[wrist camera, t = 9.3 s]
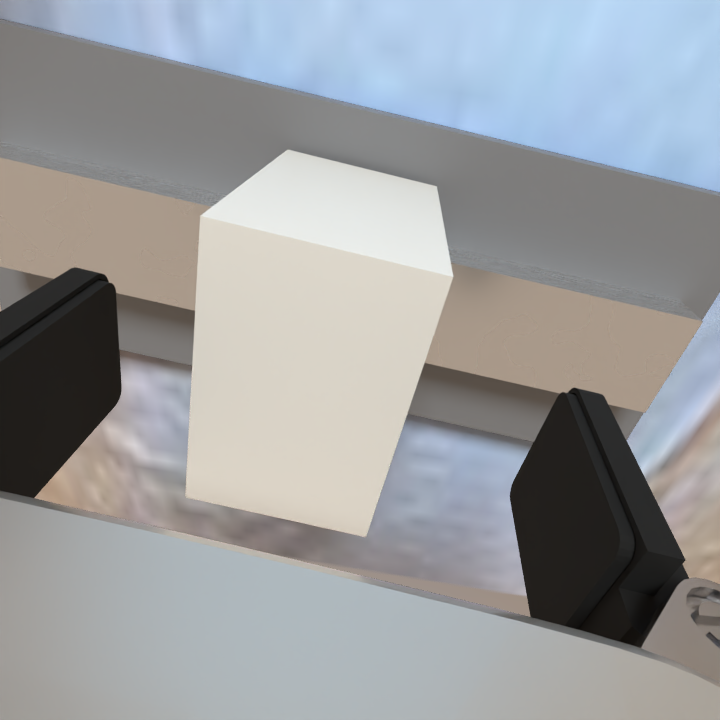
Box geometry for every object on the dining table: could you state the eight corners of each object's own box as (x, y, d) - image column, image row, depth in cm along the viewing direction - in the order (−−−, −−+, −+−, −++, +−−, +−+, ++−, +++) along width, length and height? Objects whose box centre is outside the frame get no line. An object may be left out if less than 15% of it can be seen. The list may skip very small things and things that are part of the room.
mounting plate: (752, 200, 16) (772, 208, 15) (605, 443, 21) (614, 459, 20) (-26, 12, 15) (-53, 10, 14) (21, 312, 20) (4, 323, 19)
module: (436, 186, 15) (453, 276, 9) (377, 391, 19) (360, 552, 13) (287, 149, 15) (200, 215, 9) (258, 364, 19) (184, 513, 13)
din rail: (680, 300, 17) (702, 321, 15) (628, 387, 18) (645, 412, 17) (1, 141, 16) (-35, 149, 15) (17, 248, 18) (-13, 263, 16)
